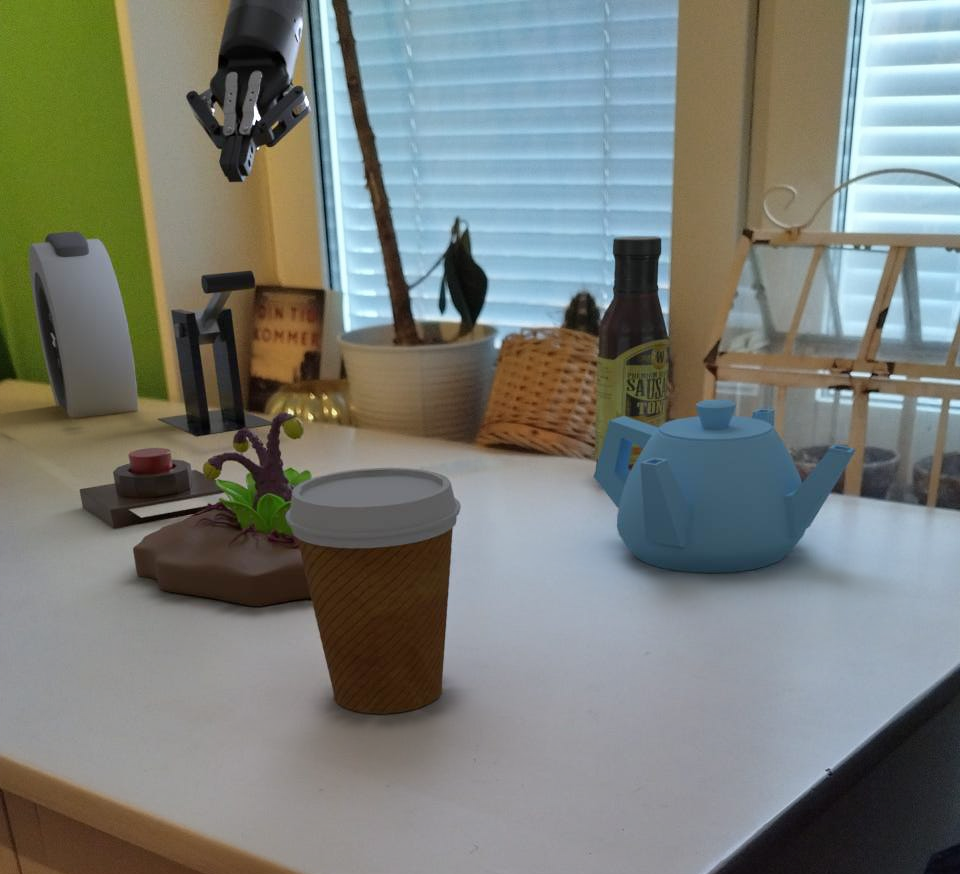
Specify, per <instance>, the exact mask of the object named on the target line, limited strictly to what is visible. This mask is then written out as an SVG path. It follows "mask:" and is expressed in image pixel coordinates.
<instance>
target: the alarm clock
mask: <svg viewBox="0 0 960 874" xmlns="http://www.w3.org/2000/svg"><path fill="white" fill-rule="evenodd" d="M28 264H29V277H30V285H31V286H30V287H31V292H32V299H33V307H34V313H35V317H36V323H37V328H38V335H39V339H40V343H41V348H42V353H43V354H42V355H43V358H44V363H45V367H46V371H47V377H48V380H49V385H50V389H51V392H52V395H53V400H54V403H55V406H56V407H58V406H61V407H62V408H63V409H64V410H65V412H66V413H67V414H68V416H69V417H70V418H71V419H80V418H81V419H82V418H88V417H98V416H107V415H115V414H124V413H132V412H138V411H139V394H138V384H137V374H136V368H135V359H134V353H133V347H132V342H131V341H132V340H131V335H130V330H129V325H128V324H129V323H128V320H127V315H126V311H125V306H124V302H123V297H122V294H121V290H120V287H119V282H118V279H117V275H116V272H115V270H114V267H113V264H112V260H111V257H110V255H109V253H108V251H107V249H106V247H105V244H104V243H103V242H102V241H101V240H100V239H99V238H88V239H86V237H85V236H84V234H83V233H81V232H80V231H76V230H75V231H63V232H62V231H61V232H50V233H48V234H47V235H45V239H44V242H35V243H33V242H32V243H31V245H29V251H28Z"/></svg>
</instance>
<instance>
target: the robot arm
mask: <svg viewBox="0 0 960 874" xmlns="http://www.w3.org/2000/svg"><path fill="white" fill-rule="evenodd" d="M305 5H306V0H229V4H228V8H227V13H226V18H225V23H224V27H223V32H222V36H221V41H220V46H219V50H218V56H217V70H216V73H215V74H214V75H213V76H212V77H211V79H210V80H209V81H210V82H209V88H208V89H206V90H205V91H203V92H202V93H200V94H199V93H198V92H197V91H195V90H190V91H189V92H187V93H186V96H185V98H186V100H187V102H188V105H189V107H190V109H191V111H192V113H193V115H194V117H195V120H197V122H198V124H199V125H200V127H201V128H202V129H203V130H204V132H205V133H206V134H207V136H208V138H209V140H210V141H211V142H212V144H213V145H214V146H215V147H216V148H217V149H218V150H220V155H219V161H218V163H219V167H220V169H221V171H222V173H223V175H224V178H225V177H226V178H227V180H228V183H244V182H245V181H246V177H249V176H250V174H251V173H252V170H253V164H254V160H255V154H256V153H257V152H258V151H259V149H260V147H263V146H266V147H267V148H274V147H275V146H276V145H277V144H278V143H279V142H280V141H281V140H283V138H284V137H286V136H287V135H288V134H289V133H290V132H291V131H292V130H293V129H294V128H295V127H297V125H298V124H299V123H300V122H302V120H304V118H306V117H307V116H308V115H309V114H310V113H311V110H312V109H311V108H312V107H311V105H310V102H309V100H308V97H307V94H306V93H305V89H304V87H303V86H302V85H296V86H294V84H293V79H294V75H295V70H296V65H297V59H298V54H299V49H300V44H301V42H302V39H303V28H304V11H305ZM216 103H217V105H218V106H219V108H220V109H221V111H222V112H223V115H224V117H223V119H224V120H223V125H222V124H220V123H219V121H218V120H217V118H216V117H215V115H214V114H215V111H216V109H215V104H216ZM277 122H278V123H277ZM275 124H277V125H275ZM273 126H275V127H274V128H272V127H273Z"/></svg>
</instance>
